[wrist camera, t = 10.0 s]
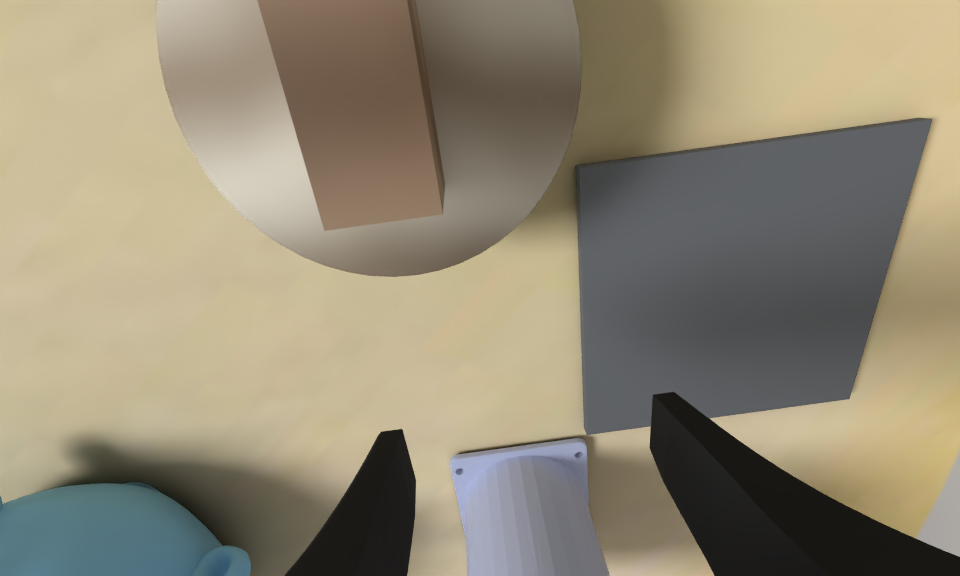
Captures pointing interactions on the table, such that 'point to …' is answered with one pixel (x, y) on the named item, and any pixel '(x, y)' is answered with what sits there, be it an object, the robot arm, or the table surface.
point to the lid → (375, 119)
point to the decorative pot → (110, 535)
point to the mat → (737, 270)
